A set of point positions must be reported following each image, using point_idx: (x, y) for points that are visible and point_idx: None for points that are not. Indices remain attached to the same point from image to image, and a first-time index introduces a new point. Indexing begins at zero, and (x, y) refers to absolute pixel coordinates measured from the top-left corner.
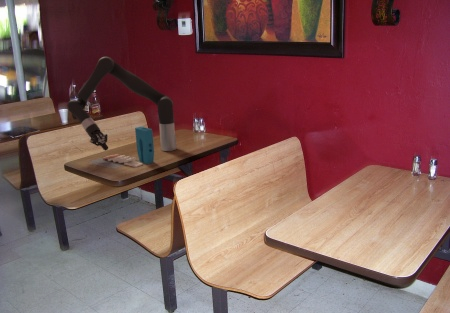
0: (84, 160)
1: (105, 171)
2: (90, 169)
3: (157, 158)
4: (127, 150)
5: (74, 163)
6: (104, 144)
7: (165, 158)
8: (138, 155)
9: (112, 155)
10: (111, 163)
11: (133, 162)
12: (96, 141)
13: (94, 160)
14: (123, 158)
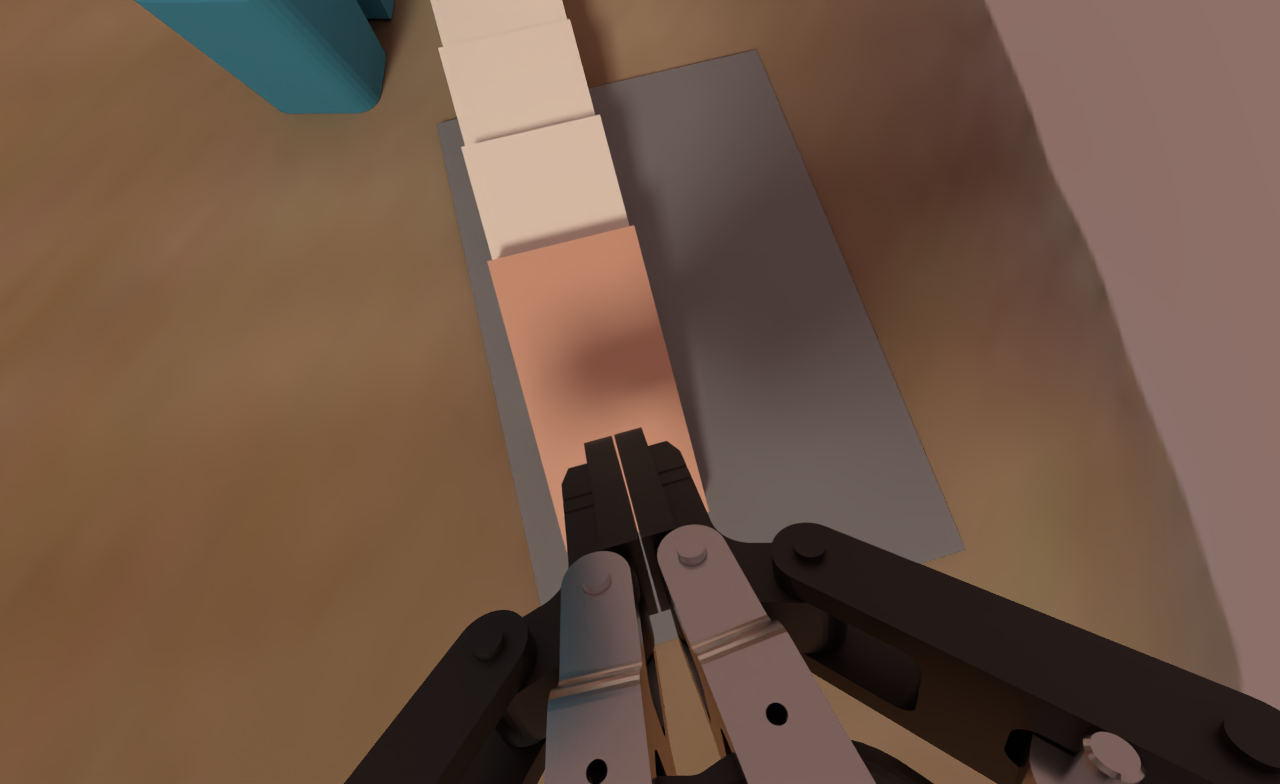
0: (945, 760)
1: (862, 67)
2: (992, 248)
3: (147, 70)
4: (72, 778)
5: None
6: (640, 513)
7: (95, 12)
8: (329, 33)
9: (582, 358)
10: (685, 250)
11: None
12: (942, 598)
13: None
14: (573, 37)
